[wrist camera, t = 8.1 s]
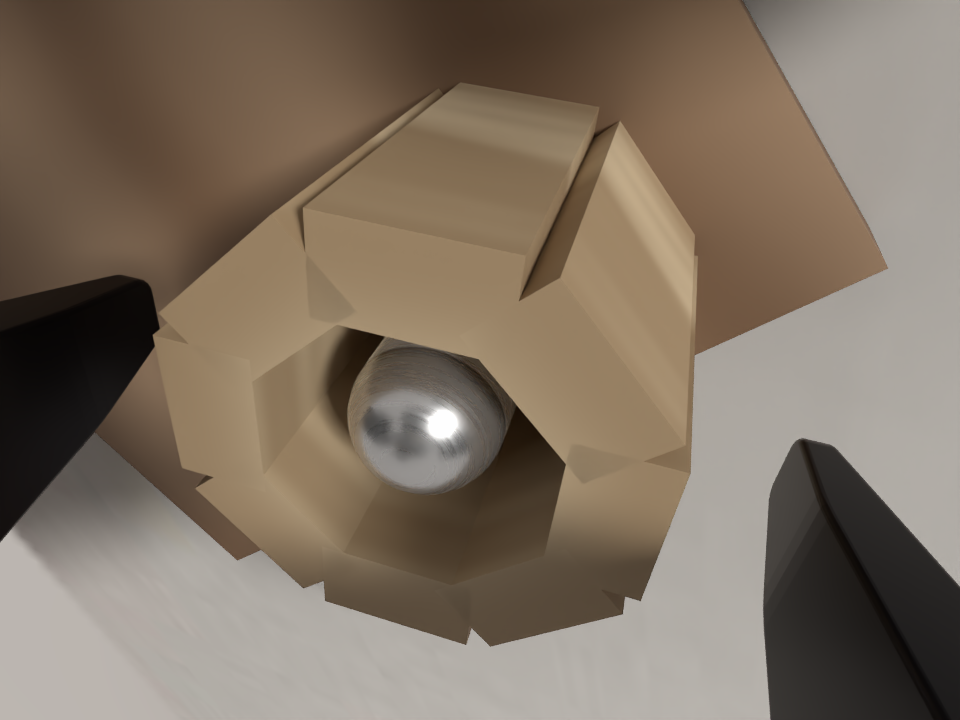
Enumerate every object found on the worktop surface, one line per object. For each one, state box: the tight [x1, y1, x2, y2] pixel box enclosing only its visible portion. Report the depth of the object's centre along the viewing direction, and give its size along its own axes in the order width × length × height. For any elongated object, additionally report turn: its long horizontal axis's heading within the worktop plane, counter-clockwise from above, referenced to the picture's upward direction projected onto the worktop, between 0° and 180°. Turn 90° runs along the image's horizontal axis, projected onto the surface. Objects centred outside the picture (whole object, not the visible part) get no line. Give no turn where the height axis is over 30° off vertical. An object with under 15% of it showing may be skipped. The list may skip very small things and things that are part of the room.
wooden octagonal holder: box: [153, 82, 698, 646], centre depth 10 cm, size 6×6×5 cm
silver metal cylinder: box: [347, 337, 517, 495], centre depth 10 cm, size 2×2×5 cm
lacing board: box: [0, 0, 888, 560], centre depth 13 cm, size 17×14×2 cm
